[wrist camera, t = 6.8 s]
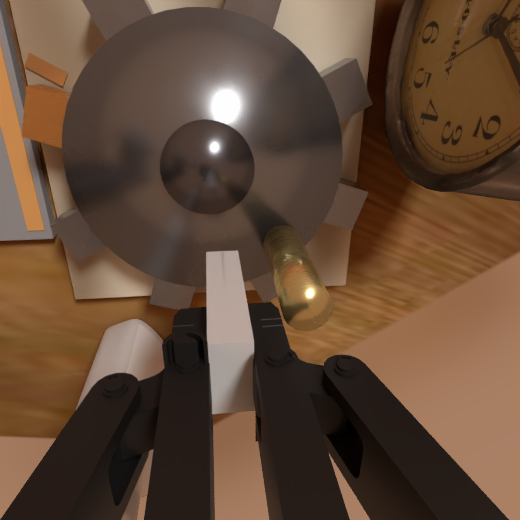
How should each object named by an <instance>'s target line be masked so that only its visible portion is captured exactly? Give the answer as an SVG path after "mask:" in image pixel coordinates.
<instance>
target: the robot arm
mask: <svg viewBox="0 0 520 520" xmlns="http://www.w3.org/2000/svg"><path fill="white" fill-rule="evenodd" d="M206 289H207V307H201V308H184V309H180V310H179V311H178V313H177V314H176V315H175V316H174V322H173V330H172V334H171V335H169V336H168V337H167V338H166V339H164V341H163V343H162V351H163V359H164V367H165V368H164V369H163V370H162V371H161V372H159V373H158V374H156V375H154V376H152V377H149V378H146V379H143V380H140V381H138V379H137V378H136V377H135V376H134V375H132V374H128V373H114V374H110V375H107V376H105V377H103V378H102V379H100V380H98V381H97V382H96V383H95V384H94V385H93V386H92V388H91V389H90V391H89V392H88V394H87V395H86V396H85V398H84V399H83V401H82V402H81V404H80V405H79V407H78V408H77V410H76V411H75V412H74V414H73V415H72V417H71V418H70V420H69V421H68V423H67V424H66V425H65V427H64V428H63V430H62V431H61V433H60V434H59V436H58V437H57V438H56V440H55V441H54V443H53V444H52V446H51V447H50V449H49V450H48V452H47V453H46V455H45V456H44V457H43V459H42V460H41V462H40V463H39V465H38V466H37V467H36V469H35V470H34V472H33V473H32V475H31V476H30V477H29V479H28V480H27V482H26V483H25V485H24V486H23V488H22V489H21V491H20V492H19V493H18V495H17V496H16V498H15V499H14V501H13V502H12V504H11V505H10V507H9V508H8V509H7V511H6V512H5V514H4V515H3V517H2V518H1V519H0V520H121V519H122V517H123V514H124V512H125V510H126V507H127V505H128V503H129V500H130V498H131V496H132V493H133V491H134V489H135V486H136V484H137V482H138V479H139V477H140V475H141V472H142V470H143V468H144V465H145V463H146V461H147V458H148V455H149V451H150V450H153V457H152V464H151V472H150V479H149V486H148V494H147V502H146V509H145V516H144V520H215V508H214V458H213V420H212V414H222V413H234V412H245V411H254V405H255V411H256V441H258V443H259V450H260V457H261V464H262V471H263V478H264V485H265V492H266V498H267V506H268V512H269V520H350V519H349V516H348V513H347V510H346V507H345V504H344V500H343V498H342V494H341V491H340V488H339V485H338V482H337V478H336V475H335V472H334V469H333V466H332V463H331V460H330V457H329V454H330V455H331V457H332V458H333V460H334V462H335V463H336V465H337V467H338V468H339V470H340V471H341V473H342V475H343V476H344V478H345V479H346V481H347V483H348V484H349V486H350V487H351V489H352V491H353V492H354V494H355V495H356V496H357V499H358V500H359V502H360V503H361V505H362V506H363V508H364V510H365V511H366V513H367V515H368V516H369V518H370V520H509V519H508V518H507V517H506V516H505V515H504V514H503V513H502V512H501V511H500V510H499V508H498V507H497V506H496V505H495V504H494V503H493V502H492V501H491V500H490V499H489V498H488V497H487V495H486V494H485V493H484V492H483V491H482V490H481V489H480V488H479V487H478V486H477V485H476V484H475V482H474V481H472V479H471V478H470V477H469V476H468V475H467V474H466V473H465V472H464V471H463V469H462V468H461V467H460V466H459V465H458V464H457V463H456V462H455V461H454V460H453V459H452V458H451V457H450V455H449V454H448V453H447V452H446V451H445V450H444V449H443V448H442V447H441V446H440V445H439V444H438V443H437V441H436V440H435V439H434V438H433V437H432V436H431V435H430V434H429V433H428V432H427V431H426V429H425V428H423V426H422V425H421V424H420V423H419V422H418V421H417V420H416V419H415V418H414V417H413V415H412V414H411V413H410V412H409V411H408V410H407V409H406V408H405V407H404V406H403V405H402V404H401V402H399V400H398V399H397V398H396V397H395V396H394V395H393V394H392V393H391V392H390V390H389V389H388V388H387V387H385V385H384V384H383V383H382V382H381V381H380V380H379V379H378V377H376V375H375V374H374V373H373V372H372V371H371V370H370V369H369V368H368V367H367V366H366V364H365V363H363V362H362V361H361V360H359V359H357V358H355V357H352V356H348V355H334V356H332V357H330V358H328V359H327V360H326V361H325V362H324V366H322V365H316V364H310V363H306V362H304V361H301V360H300V359H298V356H297V355H296V353H295V352H294V351H292V350H291V349H290V346H289V343H288V339H287V336H286V333H285V329H284V326H283V323H282V319H281V316H280V313H279V309H278V308H277V307H276V306H274V305H273V304H272V303H271V302H268V303H252V304H247V299H246V293H245V287H244V282H243V276H242V271H241V265H240V259H239V254H238V251H216V252H206ZM328 452H329V453H328Z"/></svg>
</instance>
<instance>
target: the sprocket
mask: <svg viewBox="0 0 520 520" xmlns="http://www.w3.org/2000/svg"><path fill="white" fill-rule="evenodd" d="M281 1H282V0H226V1H225V5H224V8H223V9H218V8H212V7H184V8H177V9H170V10H165V11H162V12H159V13H156V14H154V12H153V10H152V8H151V7H150V5H149V3H148V1H147V0H82V2H83V3H84V5H85V7H86V8H87V10H88V12H89V13H90V15H91V17H92V18H93V20H94V22H95V23H96V25H97V27H98V28H99V30H100V32H101V33H102V35H103V37H104V38H105V40H106V42H105V43H104V44H103V45H102V46H101V47H100V48H99V49H98V50H97V51H96V52H95V53H94V55H93V56H92V57H91V59H90V60H89V61H88V63H87V64H86V65H85V67H84V68H83V70H82V71H81V73H80V75H79V77H78V79H77V81H76V83H75V84H74V86H73V89H72V92H71V93H69V92H66V91H63V90H60V89H57V88H53V87H50V86H47V85H44V84H36V85H29V86H26V94H25V104H24V115H23V125H22V136H21V137H24V138H28V139H31V140H35V141H38V142H42V143H45V144H49V145H52V146H56V147H59V148H62V154H63V164H64V169H65V174H66V178H67V182H68V185H69V188H70V191H71V193H72V196H73V199H74V201H75V203H76V205H77V206H75V207H73V208H71V209H69V210H68V211H66V212H64V213H62V214H61V215H60V216H59V217H58V218H57V219H56V220H55V221H54V222H53V223H52V224H51V225H50V227H51V228H52V229H53V231H54V232H55V233H56V234H57V235H58V237H59V238H60V239H61V240H62V242H63V243H64V244H65V245H66V247H67V248H68V249H69V250H70V251H71V253H72V254H73V255H74V256H75V258H76V259H77V260H78V261H79V260H81V259H83V258H85V257H87V256H89V255H91V254H93V253H94V252H96V251H98V250H100V249H102V248H104V247H106V246H107V247H108V248H109V249H110V250H111V251H112V252H113V253H114V254H116V255H117V256H118V257H120V258H121V259H122V260H124V261H125V262H127V263H128V264H129V265H131V266H133V267H135V268H136V269H138V270H140V271H142V272H144V273H146V274H148V275H151V276H153V277H155V281H154V285H153V289H152V293H151V298H150V302H149V304H152V305H157V306H162V307H166V308H171V309H176V310H180V309H184V308H190V305H191V301H192V298H193V295H194V291H195V288H196V287H206V252H216V251H238V254H239V259H240V265H241V271H242V276H243V282H246V281H249V280H250V281H251V283H252V284H253V286H254V288H255V289H256V291H257V293H258V294H259V296H260V298H261V299H262V301H263V303H264V302H266V301H269V300H271V299H273V298H275V297H277V296H278V299H279V302H280V306H281V309H282V313H283V316H284V319H285V321H286V322H287V324H288V325H290V326H291V327H292V328H294V329H297V330H302V331H308V330H313V329H316V328H318V327H320V326H322V325H323V324H324V323H326V321H327V320H328V319H329V318H330V316H331V314H332V310H333V303H332V300H331V297H330V295H329V293H328V291H327V289H326V287H325V286H324V284H323V282H322V280H321V278H320V276H319V274H318V272H317V270H316V268H315V266H314V264H313V262H312V260H311V258H310V256H309V254H308V252H307V250H306V248H305V245H306V244H307V243H308V242H309V241H310V240H311V238H312V237H313V236H314V235H315V234H316V232H317V231H318V229H319V228H320V226H321V225H322V223H323V222H324V223H328V224H331V225H335V226H338V227H342V228H345V229H349V230H352V229H353V227H354V225H355V222H356V220H357V218H358V216H359V213H360V211H361V209H362V207H363V204H364V202H365V200H366V197H367V195H368V193H369V192H368V191H367V190H366V189H364V188H363V187H362V186H361V185H360V184H359V183H356V182H353V181H350V180H347V179H343V178H340V175H341V170H342V157H343V149H342V134H341V128H340V123H339V122H341V121H343V120H344V119H346V118H348V117H350V116H352V115H354V114H356V113H358V112H360V111H361V110H363V109H365V108H367V107H369V106H371V105H373V104H372V101H371V98H370V95H369V93H368V90H367V87H366V84H365V81H364V78H363V75H362V73H361V70H360V67H359V64H358V61H357V58H344V59H343V60H341V61H339V62H337V63H335V64H333V65H332V66H330V67H328V68H326V69H324V70H323V71H321V72H319V73H318V71H317V70H316V68H315V66H314V65H313V64H312V63H311V62H310V60H309V59H308V58H307V57H306V56H305V55H304V53H303V52H302V51H301V50H300V49H299V48H298V47H297V46H295V45H294V44H293V43H292V42H291V41H290V40H289V39H288V38H286V37H285V36H284V35H282V34H281V33H279V32H278V31H276V30H275V29H273V27H274V24H275V21H276V17H277V14H278V11H279V7H280V4H281Z"/></svg>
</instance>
